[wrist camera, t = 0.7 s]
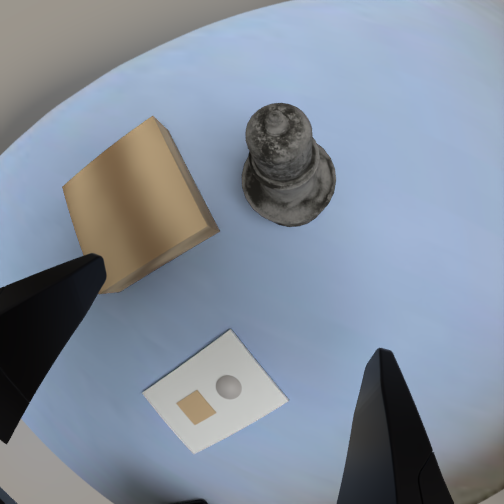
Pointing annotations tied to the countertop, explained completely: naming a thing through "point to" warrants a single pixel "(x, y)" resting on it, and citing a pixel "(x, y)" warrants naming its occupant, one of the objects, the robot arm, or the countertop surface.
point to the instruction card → (215, 394)
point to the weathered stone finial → (286, 167)
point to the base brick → (137, 206)
